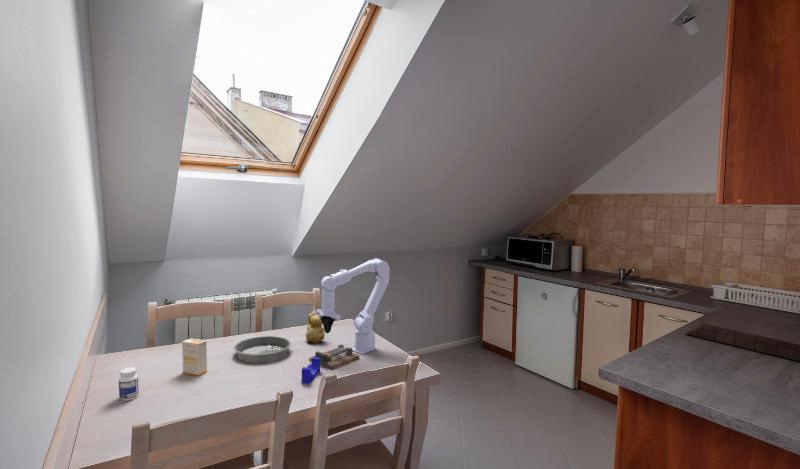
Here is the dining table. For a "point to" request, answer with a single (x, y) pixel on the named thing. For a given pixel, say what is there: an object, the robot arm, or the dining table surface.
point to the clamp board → (335, 358)
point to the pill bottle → (128, 384)
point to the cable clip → (311, 370)
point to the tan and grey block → (335, 351)
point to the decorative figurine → (314, 328)
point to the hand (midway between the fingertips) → (327, 332)
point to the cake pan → (266, 354)
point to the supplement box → (194, 356)
